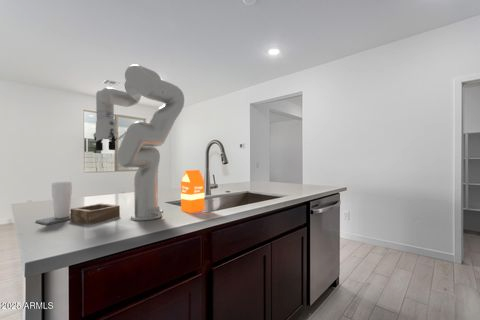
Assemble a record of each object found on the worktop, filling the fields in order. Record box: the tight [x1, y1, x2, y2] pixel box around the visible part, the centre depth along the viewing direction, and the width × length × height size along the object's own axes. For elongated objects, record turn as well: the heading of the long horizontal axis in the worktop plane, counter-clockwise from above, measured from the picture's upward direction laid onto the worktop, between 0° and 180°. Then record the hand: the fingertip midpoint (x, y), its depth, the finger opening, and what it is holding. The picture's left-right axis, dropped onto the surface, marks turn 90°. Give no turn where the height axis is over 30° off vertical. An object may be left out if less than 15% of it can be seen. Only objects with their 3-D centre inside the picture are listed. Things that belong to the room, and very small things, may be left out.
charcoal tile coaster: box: [35, 213, 71, 226], centre depth 99 cm, size 9×14×1 cm, turn 154°
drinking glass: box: [51, 181, 73, 219], centre depth 99 cm, size 7×7×15 cm
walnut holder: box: [70, 203, 121, 225], centre depth 100 cm, size 13×13×5 cm
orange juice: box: [180, 169, 205, 214], centre depth 115 cm, size 8×9×20 cm
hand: (105, 150), depth 116 cm, fingers open, 9 cm apart
